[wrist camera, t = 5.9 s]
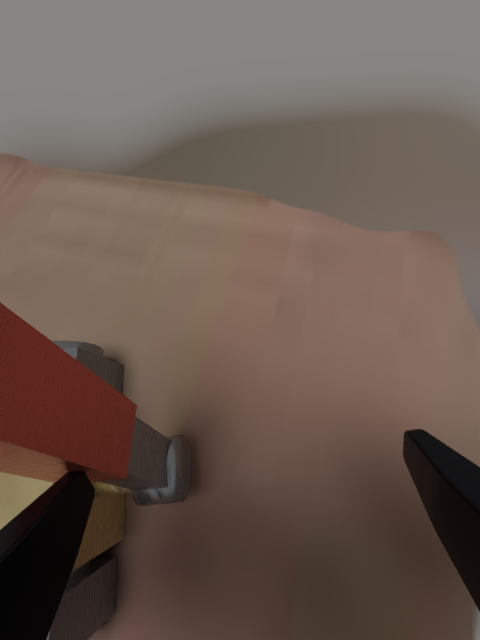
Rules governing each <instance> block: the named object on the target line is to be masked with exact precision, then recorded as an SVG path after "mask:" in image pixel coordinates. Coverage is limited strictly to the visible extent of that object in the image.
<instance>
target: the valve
mask: <svg viewBox="0 0 480 640" xmlns="http://www.w3.org/2000/svg"><path fill="white" fill-rule="evenodd" d="M52 342H53V343H55V344H56V345H57V346H59V347H60V348H61V349H63V350H64V351H65V352H67V353H68V354H69V355H71V356H72V357H73V358H75V359H76V360H77V361H79V362H80V363H81V364H83V365H84V366H85V367H87V368H88V369H89V370H91V371H92V372H93V373H95V374H96V375H97V376H99V377H100V378H101V379H103V380H104V381H105V382H107V383H108V384H109V385H111V386H112V387H113V388H114V389H116V390H117V391H118V392H120V393H121V394H123V365H122V364H119V363H117V362H114V361H112V360H109V359H107V358H104V357H103V353H104V350H103V349H102V348H101V347H99V346H97V345H94V344H90V343H85V342H78V341H52ZM53 484H54V483H53V482H48V481H43V480H38V479H33V478H28V477H23V476H18V475H13V474H8V473H3V472H0V529H2V528H3V527H4V526H5V525H6V524H7V523H9V522H10V521H11V520H12V519H13V518H14V517H16V516H17V515H18V514H19V513H20V512H21V511H23V510H24V509H25V508H26V507H27V506H28V505H30V504H31V503H32V502H33V501H34V500H35V499H37V498H38V497H39V496H40V495H41V494H42V493H44V492H45V491H46V490H47V489H48V488H49V487H51V486H52V485H53ZM92 485H93V486H94V489H95V497H94V501H93V504H92V508H91V511H90V515H89V518H88V522H87V525H86V529H85V532H84V536H83V539H82V543H81V546H80V549H79V553H78V556H77V559H76V562H75V564H74V567H73V570H72V573H71V575H70V578H69V581H68V583H67V586H66V589H65V591H64V594H63V597H62V599H61V602H60V605H59V607H58V610H57V613H56V615H55V618H54V621H53V623H52V626H51V629H50V631H49V634H48V636H47V639H46V640H88V639H89V638H90V637H91V636H92V635H93V634H94V633H95V631H96V630H97V629H98V628H99V627H100V626H101V625H102V624H103V623H104V622H105V621H106V620H107V619H108V618H109V617H110V616H111V615H112V614H113V613H114V612H115V596H116V567H117V556H114V557H102V558H94V557H96V556H98V555H99V554H101V553H102V552H104V551H105V550H107V549H108V548H110V547H112V546H113V545H115V544H116V543H118V542H119V541H121V540H122V539H124V521H125V494H129V493H132V492H131V490H129V489H125V488H121V487H117V486H113V485H109V484H105V483H101V482H94V483H92Z"/></svg>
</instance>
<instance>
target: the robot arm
mask: <svg viewBox="0 0 480 640" xmlns="http://www.w3.org/2000/svg"><path fill="white" fill-rule="evenodd" d="M403 456H404V460H405V463H406V465H407V468H408V470H409V472H410V474H411V477H412V479H413V481H414V484H415V486H416V488H417V491H418V493H419V495H420V497H421V500H422V502H423V504H424V507H425V509H426V511H427V514H428V516H429V518H430V520H431V522H432V525H433V527H434V529H435V531H436V533H437V535H438V536H439V538H440V540H441V542H442V544H443V546H444V547H445V549H446V551H447V553H448V555H449V557H450V558H451V560H452V562H453V564H454V566H455V567H456V569H457V571H458V573H459V575H460V577H461V578H462V580H463V582H464V584H465V586H466V587H467V589H468V591H469V593H470V595H471V596H472V598H473V600H474V602H475V604H476V606H477V607H478V609H479V611H480V467H479V466H477V465H476V464H474V463H473V462H471V461H470V460H468V459H467V458H465V457H464V456H462V455H461V454H459V453H458V452H456V451H455V450H453V449H452V448H450V447H449V446H447V445H446V444H444V443H443V442H441V441H440V440H438V439H437V438H435V437H434V436H432V435H431V434H429V433H428V432H426V431H424V430H422V429H415V430H407V431H405V433H404V443H403ZM94 497H95V489H94V486H93V485H92V483H91V481H90V480H89V478H88V476H87V475H86V473H85V472H84V471H71V472H67V473H66V474H65V475H63V476H62V477H61V478H60V479H59V480H58V481H56V482H55V483H54V484H53V485H52V486H51V487H49V488H48V489H47V490H46V491H45V492H44V493H42V494H41V495H40V496H39V497H38V498H37V499H35V500H34V501H33V502H32V503H31V504H30V505H28V506H27V507H26V508H25V509H24V510H23V511H21V512H20V513H19V514H18V515H17V516H16V517H14V518H13V519H12V520H11V521H10V522H9V523H7V524H6V525H5V526H4V527H3V528H2V529H0V640H46V639H47V636H48V634H49V631H50V629H51V626H52V623H53V621H54V618H55V615H56V613H57V610H58V607H59V605H60V602H61V599H62V597H63V594H64V591H65V589H66V586H67V583H68V581H69V578H70V575H71V573H72V570H73V567H74V564H75V562H76V559H77V556H78V553H79V549H80V546H81V543H82V539H83V536H84V532H85V529H86V525H87V522H88V518H89V515H90V511H91V508H92V504H93V501H94Z"/></svg>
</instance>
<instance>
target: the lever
mask: <svg viewBox="0 0 480 640" xmlns="http://www.w3.org/2000/svg"><path fill="white" fill-rule="evenodd" d="M136 408H137V405H136V404H134V403H133V402H132V401H130V400H129V399H128V398H126V397H125V396H124V395H122V394H121V393H120V392H118V391H117V390H116V389H114V388H113V387H112V386H111V385H109V384H108V383H107V382H105V381H104V380H103V379H101V378H100V377H99V376H97V375H96V374H95V373H93V372H92V371H91V370H89V369H88V368H87V367H85V366H84V365H83V364H81V363H80V362H79V361H77V360H76V359H75V358H73V357H72V356H71V355H69V354H68V353H67V352H65V351H64V350H63V349H61V348H60V347H59V346H57V345H56V344H55V343H53V342H52V341H51V340H49V339H48V338H47V337H45V336H44V335H43V334H41V333H40V332H39V331H37V330H36V329H35V328H33V327H32V326H31V325H29V324H28V323H27V322H25V321H24V320H23V319H21V318H20V317H19V316H17V315H16V314H15V313H13V312H12V311H11V310H9V309H8V308H7V307H5V306H4V305H3V304H1V303H0V472H3V473H8V474H13V475H18V476H23V477H28V478H33V479H38V480H43V481H48V482H53V483H55V482H56V481H58V480H59V479H60V478H61V477H62V476H63V475H65V474H66V473H67V472H71V471H84V472H85V473H86V475H87V476H88V478H89V480H90V481H91V483H94V482H101V483H105V484H109V485H113V486H117V487H121V488H125V489H129V490H131V492H132V496H133V498H134V500H135V502H136V503H137V504H138V505H139V506H148V505H157V504H167V503H176V502H183V501H184V500H185V499H186V498H187V496H188V493H189V489H190V484H191V475H192V463H191V454H190V449H189V445H188V442H187V440H186V438H185V437H184V436H182V435H179V436H172V437H165V436H163V435H162V434H160V433H159V432H157V431H156V430H154V429H153V428H152V427H150V426H149V425H147V424H146V423H144V422H143V421H141V420H140V419H138V418H137V417H135V415H136Z"/></svg>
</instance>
